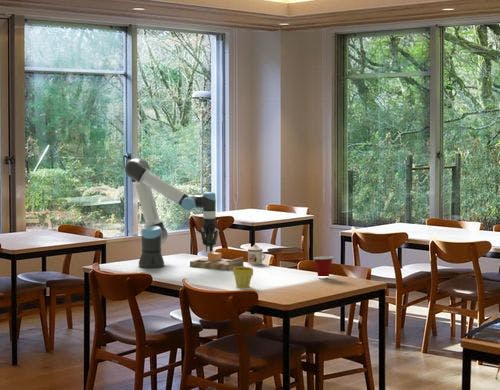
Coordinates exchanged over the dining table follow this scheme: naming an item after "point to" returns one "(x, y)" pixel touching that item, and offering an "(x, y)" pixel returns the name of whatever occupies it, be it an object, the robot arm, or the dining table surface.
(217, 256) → the block
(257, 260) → the teacup with lid
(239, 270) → the plant pot
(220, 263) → the trap board
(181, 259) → the dining table surface
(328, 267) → the plastic cup
